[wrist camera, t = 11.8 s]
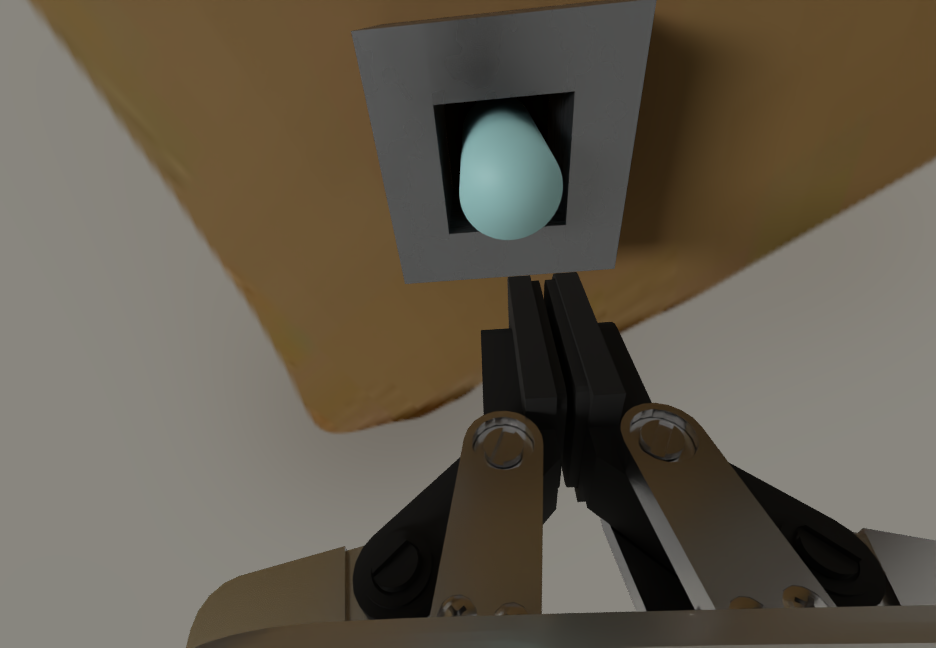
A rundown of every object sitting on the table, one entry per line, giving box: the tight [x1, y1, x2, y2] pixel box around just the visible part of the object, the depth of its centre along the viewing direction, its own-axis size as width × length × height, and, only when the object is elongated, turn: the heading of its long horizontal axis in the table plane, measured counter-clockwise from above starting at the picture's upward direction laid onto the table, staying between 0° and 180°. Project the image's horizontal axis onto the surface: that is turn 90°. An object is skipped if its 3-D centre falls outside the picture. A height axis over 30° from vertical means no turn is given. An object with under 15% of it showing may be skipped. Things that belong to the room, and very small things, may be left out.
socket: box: [351, 0, 656, 284], centre depth 22 cm, size 12×12×7 cm
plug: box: [459, 97, 563, 240], centre depth 21 cm, size 4×4×10 cm
